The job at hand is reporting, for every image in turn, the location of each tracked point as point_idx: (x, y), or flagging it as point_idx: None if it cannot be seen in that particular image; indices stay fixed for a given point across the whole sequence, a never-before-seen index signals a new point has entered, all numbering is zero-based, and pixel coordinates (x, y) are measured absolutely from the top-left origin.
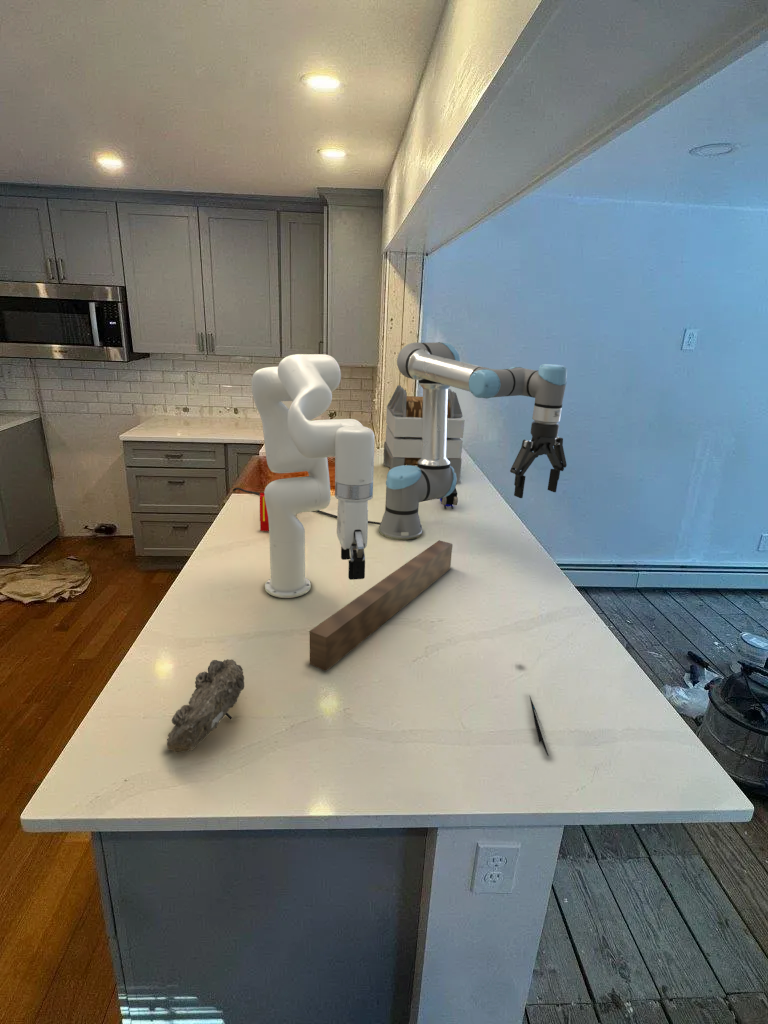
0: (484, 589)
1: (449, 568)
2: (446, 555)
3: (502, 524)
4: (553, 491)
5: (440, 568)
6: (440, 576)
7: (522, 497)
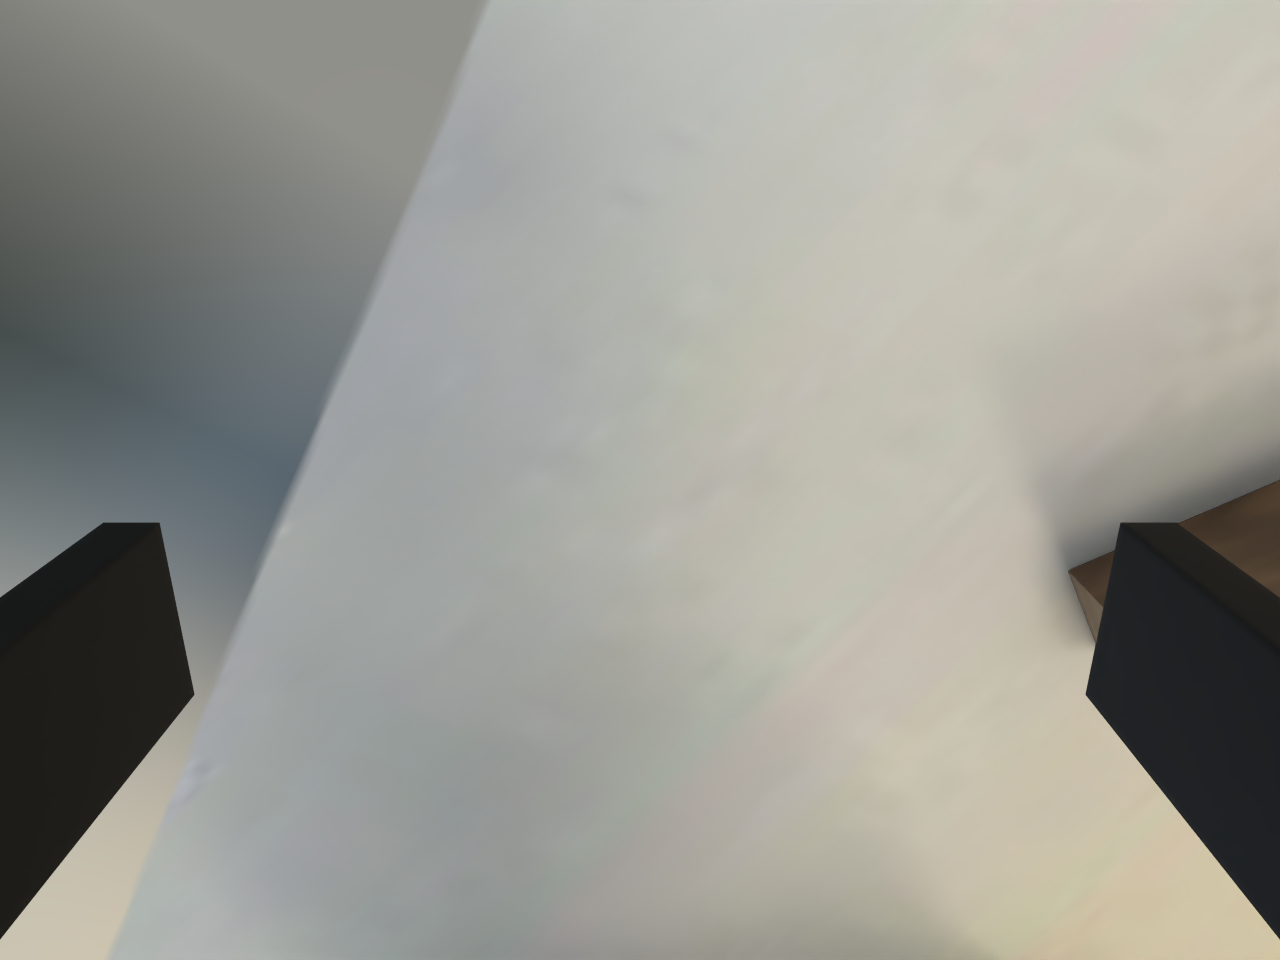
0: (1116, 218)
1: (1086, 568)
2: None
3: (216, 943)
4: (157, 551)
5: (1276, 529)
6: (1221, 507)
7: (1127, 528)
